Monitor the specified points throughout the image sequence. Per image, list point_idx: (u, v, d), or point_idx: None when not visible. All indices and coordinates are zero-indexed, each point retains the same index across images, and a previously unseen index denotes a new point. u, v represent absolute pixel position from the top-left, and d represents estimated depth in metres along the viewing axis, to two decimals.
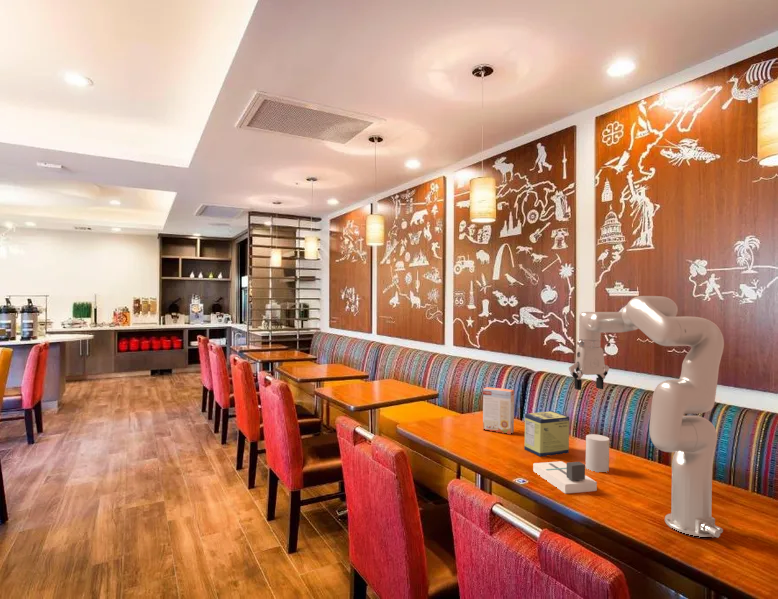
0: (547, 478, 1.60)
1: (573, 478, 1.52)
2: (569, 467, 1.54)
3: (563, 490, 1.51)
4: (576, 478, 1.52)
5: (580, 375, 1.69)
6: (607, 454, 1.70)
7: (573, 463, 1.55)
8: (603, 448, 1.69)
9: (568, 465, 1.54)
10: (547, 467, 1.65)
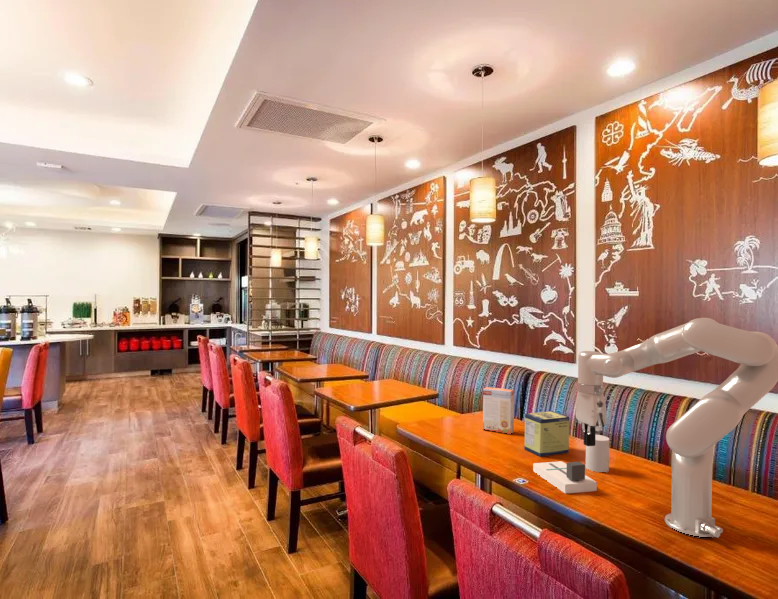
0: (547, 478, 1.60)
1: (573, 478, 1.52)
2: (569, 467, 1.54)
3: (563, 490, 1.51)
4: (576, 478, 1.52)
5: None
6: (607, 454, 1.70)
7: (573, 463, 1.55)
8: (603, 448, 1.69)
9: (568, 465, 1.54)
10: (547, 467, 1.65)
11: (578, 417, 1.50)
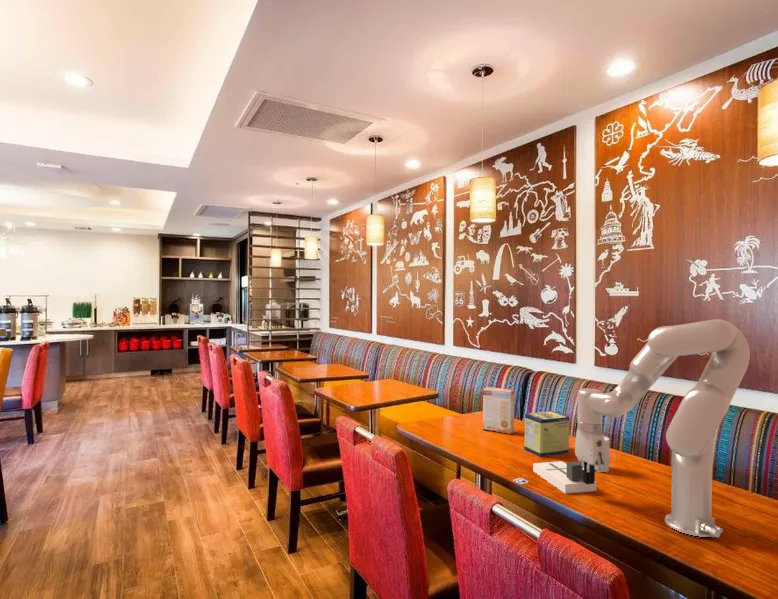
0: (547, 478, 1.60)
1: (573, 478, 1.52)
2: (569, 467, 1.54)
3: (563, 490, 1.51)
4: (576, 478, 1.52)
5: None
6: (607, 454, 1.70)
7: (573, 463, 1.55)
8: None
9: (568, 465, 1.54)
10: (547, 467, 1.65)
11: (577, 454, 1.50)
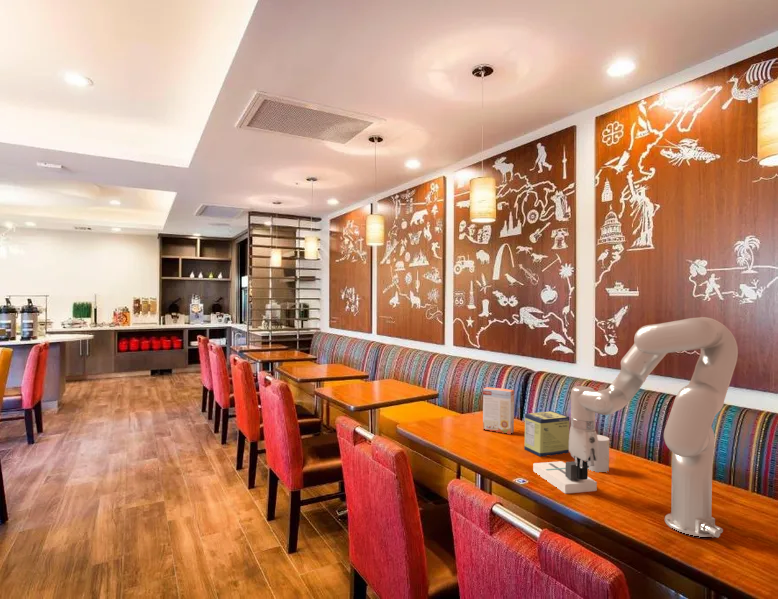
0: (547, 478, 1.60)
1: (572, 477, 1.53)
2: (568, 467, 1.54)
3: (563, 490, 1.51)
4: (575, 477, 1.53)
5: None
6: (607, 454, 1.70)
7: (572, 462, 1.55)
8: (603, 448, 1.69)
9: (567, 464, 1.55)
10: (547, 467, 1.65)
11: (571, 451, 1.53)
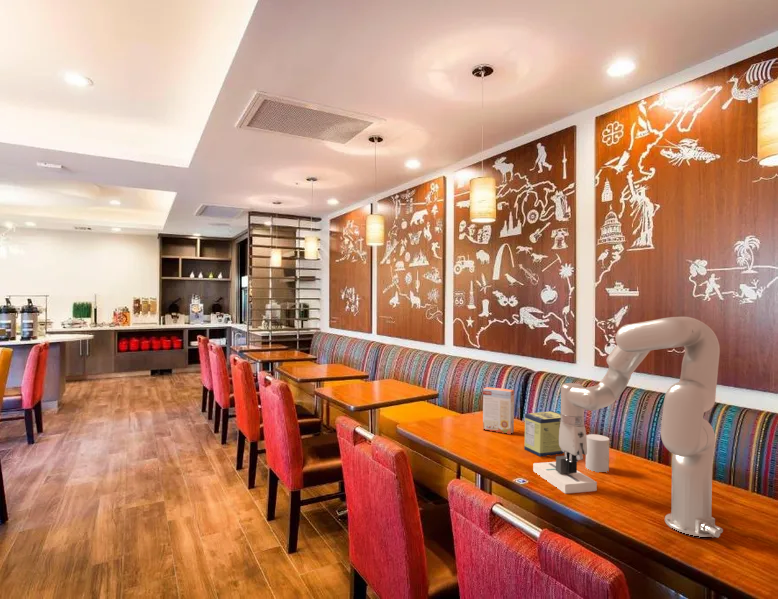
0: (547, 478, 1.60)
1: (562, 471, 1.58)
2: (558, 461, 1.60)
3: (563, 490, 1.51)
4: (565, 471, 1.59)
5: None
6: (607, 454, 1.70)
7: (562, 456, 1.61)
8: (603, 448, 1.69)
9: (557, 459, 1.60)
10: (547, 467, 1.65)
11: (561, 445, 1.59)
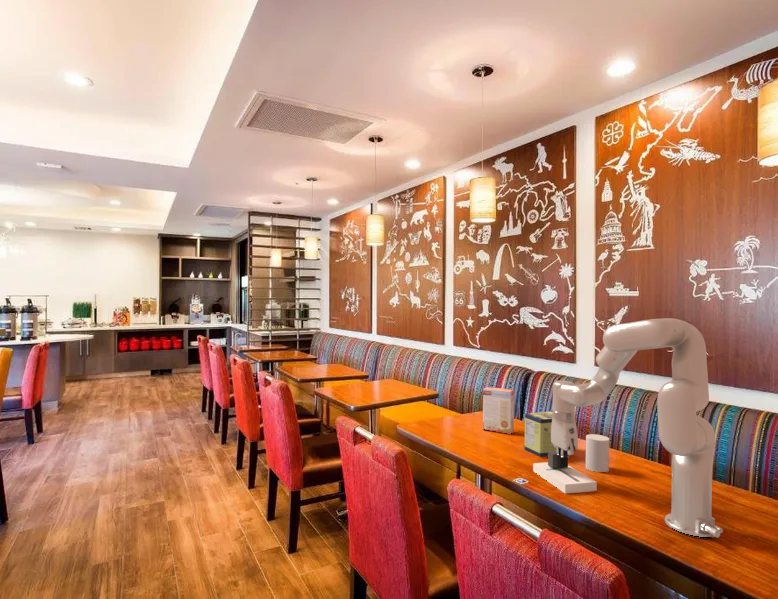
0: (547, 478, 1.60)
1: (554, 466, 1.63)
2: (550, 456, 1.65)
3: (563, 490, 1.51)
4: (556, 466, 1.64)
5: None
6: (607, 454, 1.70)
7: (554, 452, 1.66)
8: (603, 448, 1.69)
9: (549, 454, 1.65)
10: (547, 467, 1.65)
11: (553, 441, 1.64)
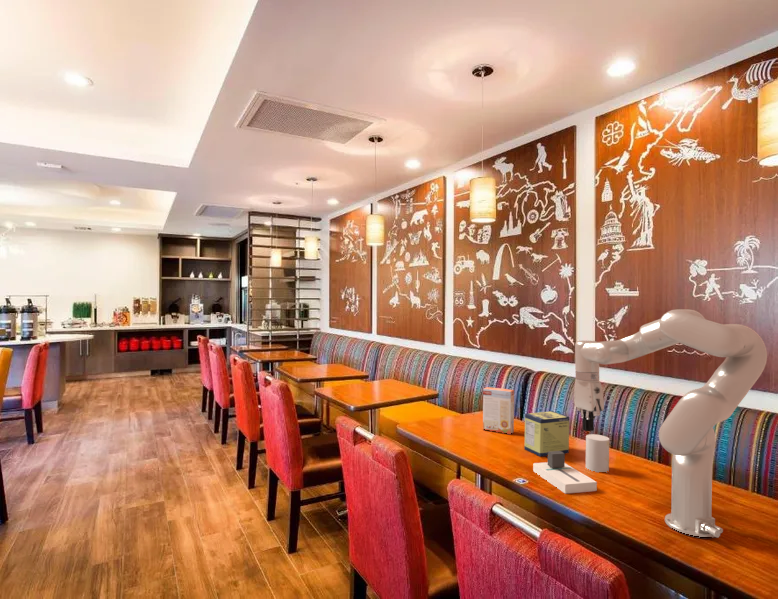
0: (547, 478, 1.60)
1: (553, 466, 1.63)
2: (549, 456, 1.65)
3: (563, 490, 1.51)
4: (556, 466, 1.64)
5: None
6: (607, 454, 1.70)
7: (553, 452, 1.66)
8: (603, 448, 1.69)
9: (549, 454, 1.65)
10: (547, 467, 1.65)
11: (577, 404, 1.57)
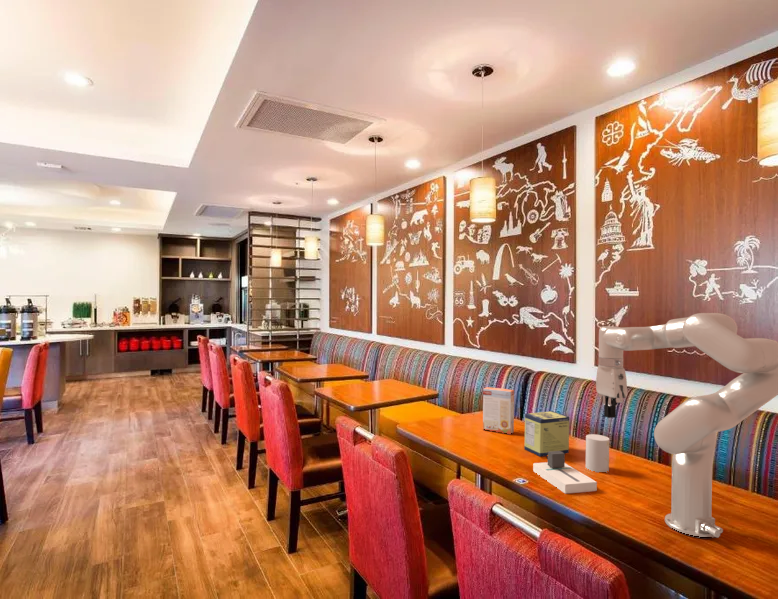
0: (547, 478, 1.60)
1: (553, 466, 1.63)
2: (549, 456, 1.65)
3: (563, 490, 1.51)
4: (556, 466, 1.64)
5: None
6: (607, 454, 1.70)
7: (553, 452, 1.66)
8: (603, 448, 1.69)
9: (549, 454, 1.65)
10: (547, 467, 1.65)
11: (599, 390, 1.55)
